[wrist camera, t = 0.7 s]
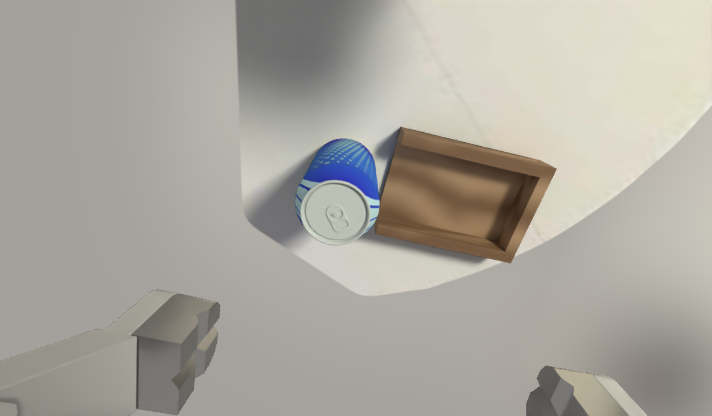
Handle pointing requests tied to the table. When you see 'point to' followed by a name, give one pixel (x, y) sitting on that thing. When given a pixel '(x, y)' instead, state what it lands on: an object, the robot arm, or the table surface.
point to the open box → (460, 195)
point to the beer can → (339, 193)
